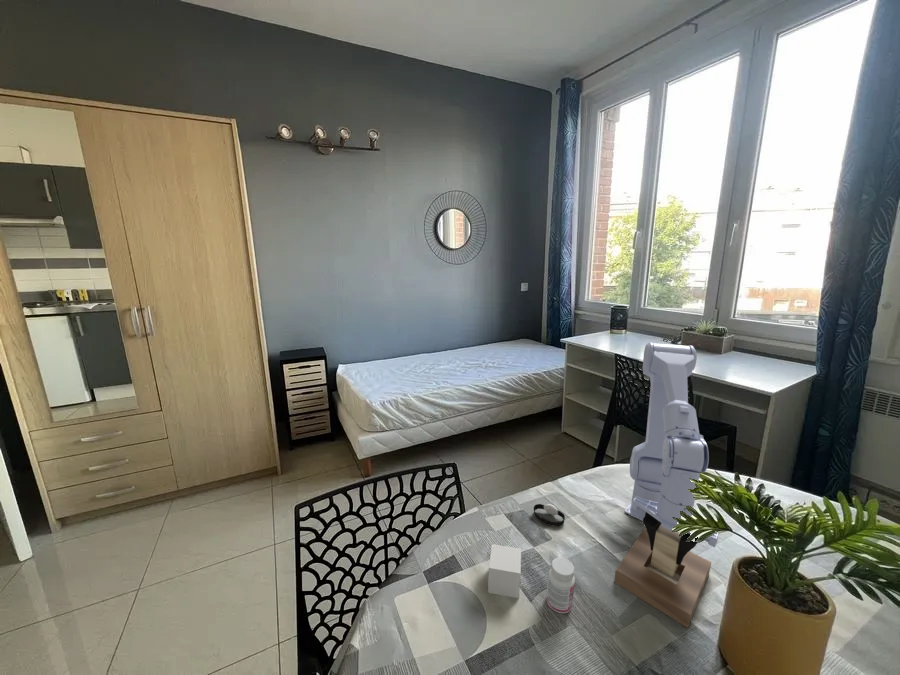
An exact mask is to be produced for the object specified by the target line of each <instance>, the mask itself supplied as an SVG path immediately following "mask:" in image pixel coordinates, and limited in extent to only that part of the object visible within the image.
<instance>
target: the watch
mask: <svg viewBox="0 0 900 675" xmlns="http://www.w3.org/2000/svg"><path fill="white" fill-rule="evenodd" d="M539 509H540V510H544V511H545V512H546V513H547V514H549V515H551V516H559V517H561V519H562V520H560V521H553V520H549V519H546V518H544V517H543V516H540V515H539V514H537V512H536V510H539ZM533 515H534V517H535V518H536V519H537V520H538V521H540V522H541V523H542V524H546V525H549V526H552V527H561V526H563V525H564V523H565V521H566V520H565V514H564V513H563V511H560V510H558V508H557V507H556V506H555V505H554V504H551V503H547V504H542V503H536V504H535V505H534V506H533Z"/></svg>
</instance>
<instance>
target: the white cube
mask: <svg viewBox="0 0 900 675" xmlns="http://www.w3.org/2000/svg"><path fill="white" fill-rule="evenodd" d="M521 564H522V548H519V547H518V548H517V547H513V546H505V545H500V544H495V543H493V544H492V543H491V549H490V558H489V565H488V579H487V580H488V581H487V582H488V583H487V584H488V586H487V593H489V594H494V595H499V596H504V597H510V598H514V599H520V587H521V576H522V575H521V574H522V573H521V572H522V571H521V569H522V566H521Z"/></svg>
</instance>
